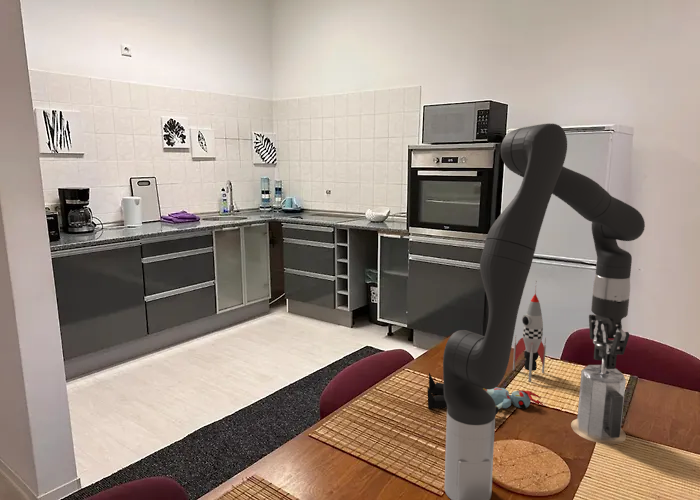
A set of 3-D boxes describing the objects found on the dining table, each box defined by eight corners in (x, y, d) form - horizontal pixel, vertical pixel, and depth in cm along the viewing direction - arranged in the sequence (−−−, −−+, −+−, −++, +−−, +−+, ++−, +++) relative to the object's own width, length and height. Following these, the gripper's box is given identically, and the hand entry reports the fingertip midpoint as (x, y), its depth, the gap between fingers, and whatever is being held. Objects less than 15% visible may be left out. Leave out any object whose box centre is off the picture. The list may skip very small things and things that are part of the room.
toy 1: (430, 359, 148) (534, 362, 142) (430, 383, 150) (534, 387, 144) (425, 399, 124) (552, 405, 118) (426, 428, 125) (551, 434, 119)
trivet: (636, 446, 114) (636, 443, 114) (585, 446, 114) (585, 444, 114) (609, 419, 126) (609, 417, 125) (562, 419, 126) (562, 417, 125)
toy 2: (510, 369, 155) (516, 277, 150) (533, 366, 158) (539, 275, 152) (529, 382, 147) (535, 285, 141) (552, 378, 149) (559, 282, 144)
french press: (634, 447, 112) (641, 385, 110) (593, 447, 112) (599, 386, 110) (607, 420, 124) (613, 363, 121) (570, 420, 124) (574, 364, 121)
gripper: (580, 286, 120) (574, 352, 123) (611, 303, 106) (604, 377, 109) (610, 286, 120) (604, 352, 123) (645, 303, 106) (637, 377, 109)
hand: (604, 363), depth 116 cm, fingers closed on plunger, 4 cm apart
